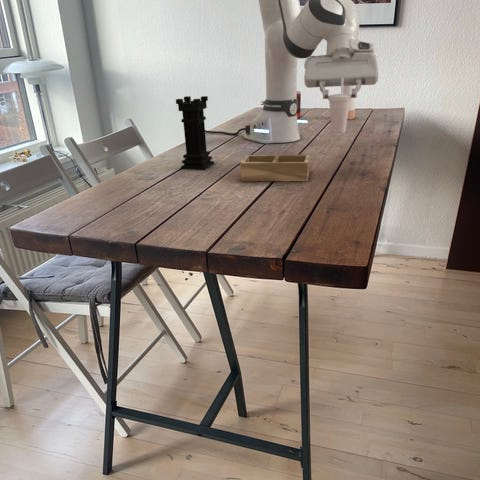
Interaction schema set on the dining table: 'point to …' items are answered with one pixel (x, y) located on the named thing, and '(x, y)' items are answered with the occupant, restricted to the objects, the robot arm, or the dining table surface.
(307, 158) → the rack
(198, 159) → the chess piece
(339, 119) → the smoothie
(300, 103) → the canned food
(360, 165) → the dining table surface
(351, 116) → the salt shaker
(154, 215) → the dining table surface
